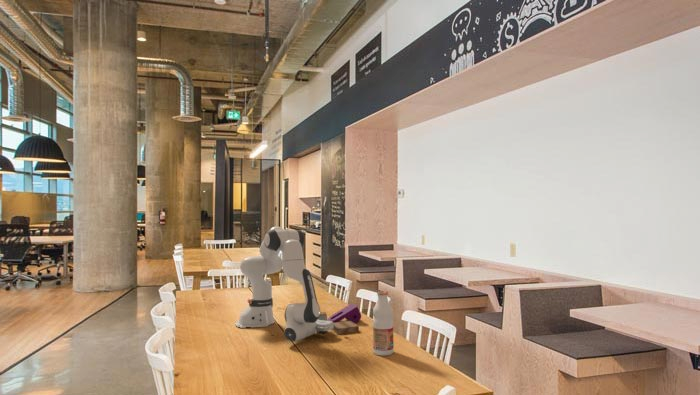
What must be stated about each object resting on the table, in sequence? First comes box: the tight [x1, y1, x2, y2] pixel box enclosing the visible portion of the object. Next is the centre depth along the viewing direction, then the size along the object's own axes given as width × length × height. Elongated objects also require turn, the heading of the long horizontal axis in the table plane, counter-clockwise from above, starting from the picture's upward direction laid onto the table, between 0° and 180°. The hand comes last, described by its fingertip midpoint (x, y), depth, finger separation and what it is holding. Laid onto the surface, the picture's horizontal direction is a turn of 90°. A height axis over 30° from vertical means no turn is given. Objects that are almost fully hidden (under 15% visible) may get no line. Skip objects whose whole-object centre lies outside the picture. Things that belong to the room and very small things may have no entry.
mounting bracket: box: [327, 303, 362, 324], centre depth 264 cm, size 10×8×18 cm
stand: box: [330, 320, 360, 335], centre depth 247 cm, size 12×12×3 cm
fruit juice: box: [372, 290, 394, 357], centre depth 209 cm, size 9×9×28 cm
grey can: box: [316, 311, 328, 334], centre depth 244 cm, size 6×6×10 cm
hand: (322, 320), depth 245 cm, fingers closed on grey can, 5 cm apart
